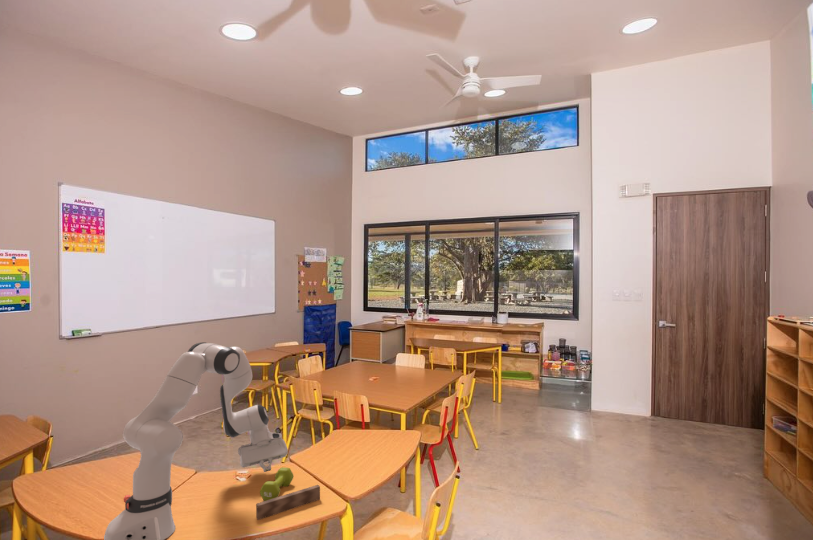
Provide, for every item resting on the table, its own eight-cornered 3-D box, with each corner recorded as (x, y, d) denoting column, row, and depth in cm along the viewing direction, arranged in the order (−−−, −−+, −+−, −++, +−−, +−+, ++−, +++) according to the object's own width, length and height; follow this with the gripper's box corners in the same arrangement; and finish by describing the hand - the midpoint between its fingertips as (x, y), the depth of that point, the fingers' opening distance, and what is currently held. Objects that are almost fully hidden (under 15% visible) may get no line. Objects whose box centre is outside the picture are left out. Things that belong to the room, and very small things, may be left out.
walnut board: (257, 520, 149) (257, 506, 149) (256, 517, 151) (256, 503, 151) (320, 499, 163) (319, 486, 163) (318, 497, 164) (317, 484, 165)
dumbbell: (277, 504, 160) (276, 485, 160) (257, 502, 162) (257, 483, 162) (295, 483, 176) (295, 466, 177) (277, 482, 178) (277, 465, 178)
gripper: (238, 443, 180) (244, 473, 172) (284, 432, 192) (292, 461, 183) (236, 450, 183) (241, 480, 175) (281, 439, 195) (288, 468, 187)
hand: (267, 470), depth 179 cm, fingers closed
